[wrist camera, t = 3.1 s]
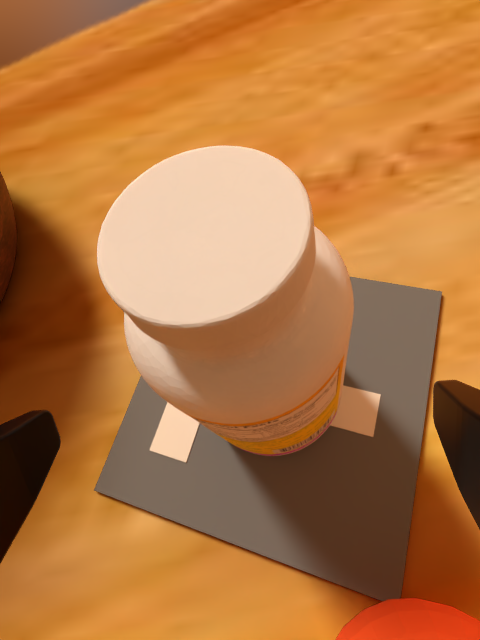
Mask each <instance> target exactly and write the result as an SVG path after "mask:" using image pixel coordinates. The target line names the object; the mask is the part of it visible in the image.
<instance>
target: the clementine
mask: <svg viewBox="0 0 480 640" xmlns="http://www.w3.org/2000/svg"><path fill="white" fill-rule="evenodd" d="M336 640H480V621H479V620H477V619H475V618H473V617H471V616H469V615H467V614H465V613H464V612H462V611H460V610H458V609H456V608H454V607H452V606H448V605H444V604H440V603H435V602H431V601H427V600H423V599H418V598H404V599H388V600H386V601H383V602H380V603H378V604H375V605H373V606H370V607H368V608H365V609H364V610H362V611H361V612H360V613H359V614H358V615H357V616H355V617H354V618H353V619H352V620H351V621H349V622H348V623H347V624H346V625H345V626H344V627H343V629H342V630H341V632H340V633H339V635H338V636H337V638H336Z"/></svg>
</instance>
